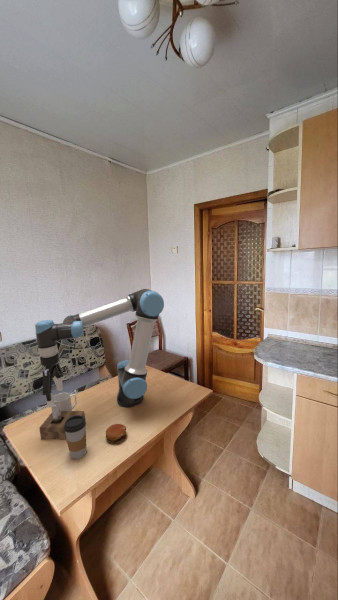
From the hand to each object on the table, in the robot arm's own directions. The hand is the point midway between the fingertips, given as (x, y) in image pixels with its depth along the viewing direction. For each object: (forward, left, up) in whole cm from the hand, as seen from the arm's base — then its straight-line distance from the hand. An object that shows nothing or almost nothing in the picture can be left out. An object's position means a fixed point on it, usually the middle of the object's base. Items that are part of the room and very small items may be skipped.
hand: (55, 398), depth 114 cm
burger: (-28, +4, -18) cm, 33 cm away
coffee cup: (-14, +14, -17) cm, 26 cm away
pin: (0, 0, -15) cm, 15 cm away
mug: (+3, -13, -17) cm, 22 cm away
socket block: (-2, -1, -17) cm, 17 cm away
